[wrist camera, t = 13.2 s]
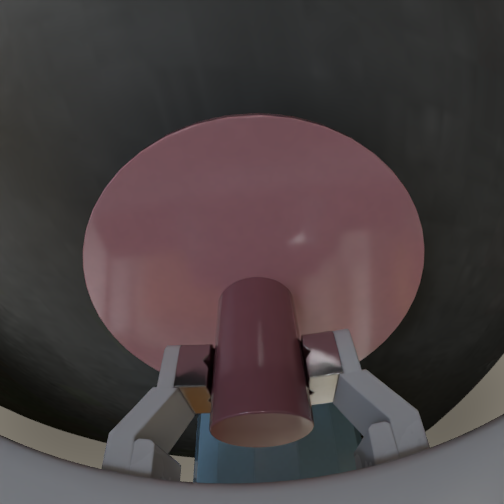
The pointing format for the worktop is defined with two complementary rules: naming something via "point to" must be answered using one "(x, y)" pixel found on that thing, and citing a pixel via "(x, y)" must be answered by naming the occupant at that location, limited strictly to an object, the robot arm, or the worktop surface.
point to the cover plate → (253, 259)
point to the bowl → (279, 453)
